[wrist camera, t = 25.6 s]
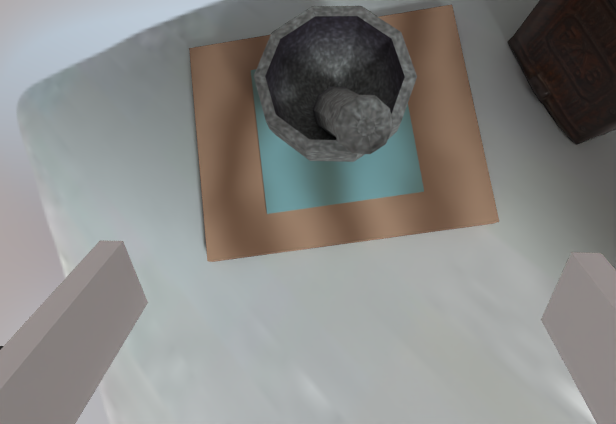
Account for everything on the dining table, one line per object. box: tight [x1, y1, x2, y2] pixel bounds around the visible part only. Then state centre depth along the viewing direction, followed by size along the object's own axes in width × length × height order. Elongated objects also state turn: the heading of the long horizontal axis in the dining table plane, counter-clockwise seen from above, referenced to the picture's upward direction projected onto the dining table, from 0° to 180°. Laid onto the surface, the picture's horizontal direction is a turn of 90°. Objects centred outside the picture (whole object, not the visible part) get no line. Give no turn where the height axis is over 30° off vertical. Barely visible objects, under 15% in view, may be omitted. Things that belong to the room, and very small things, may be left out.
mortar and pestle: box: [254, 6, 417, 162], centre depth 23 cm, size 11×9×12 cm
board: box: [189, 5, 499, 262], centre depth 30 cm, size 22×18×1 cm
